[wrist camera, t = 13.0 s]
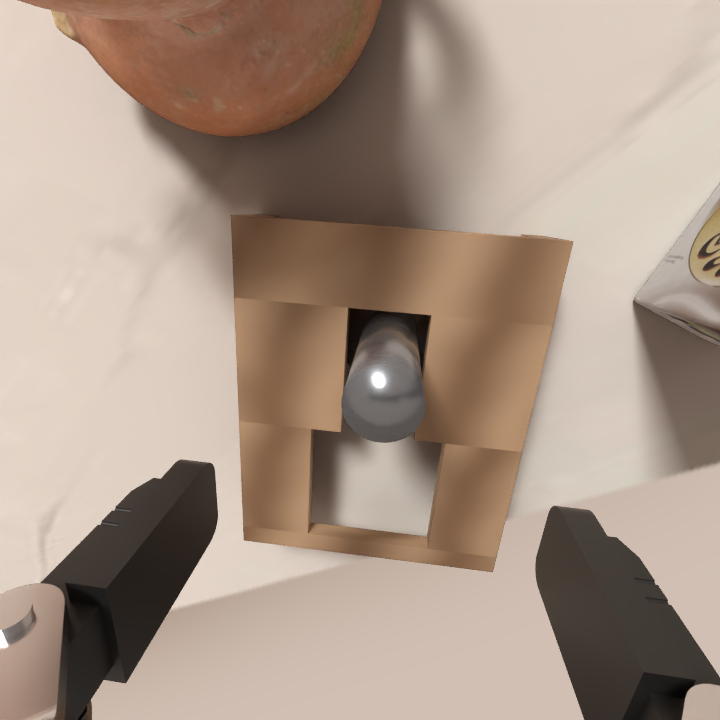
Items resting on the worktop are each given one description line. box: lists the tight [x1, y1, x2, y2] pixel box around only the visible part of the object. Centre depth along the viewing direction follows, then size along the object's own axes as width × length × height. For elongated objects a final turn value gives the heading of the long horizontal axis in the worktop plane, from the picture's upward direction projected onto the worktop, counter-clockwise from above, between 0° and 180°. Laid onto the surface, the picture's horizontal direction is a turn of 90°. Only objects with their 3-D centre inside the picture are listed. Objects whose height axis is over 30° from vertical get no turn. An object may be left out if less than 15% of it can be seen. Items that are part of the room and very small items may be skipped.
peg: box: [341, 308, 430, 443], centre depth 20 cm, size 6×6×11 cm
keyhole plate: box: [231, 214, 573, 572], centre depth 24 cm, size 16×20×4 cm
